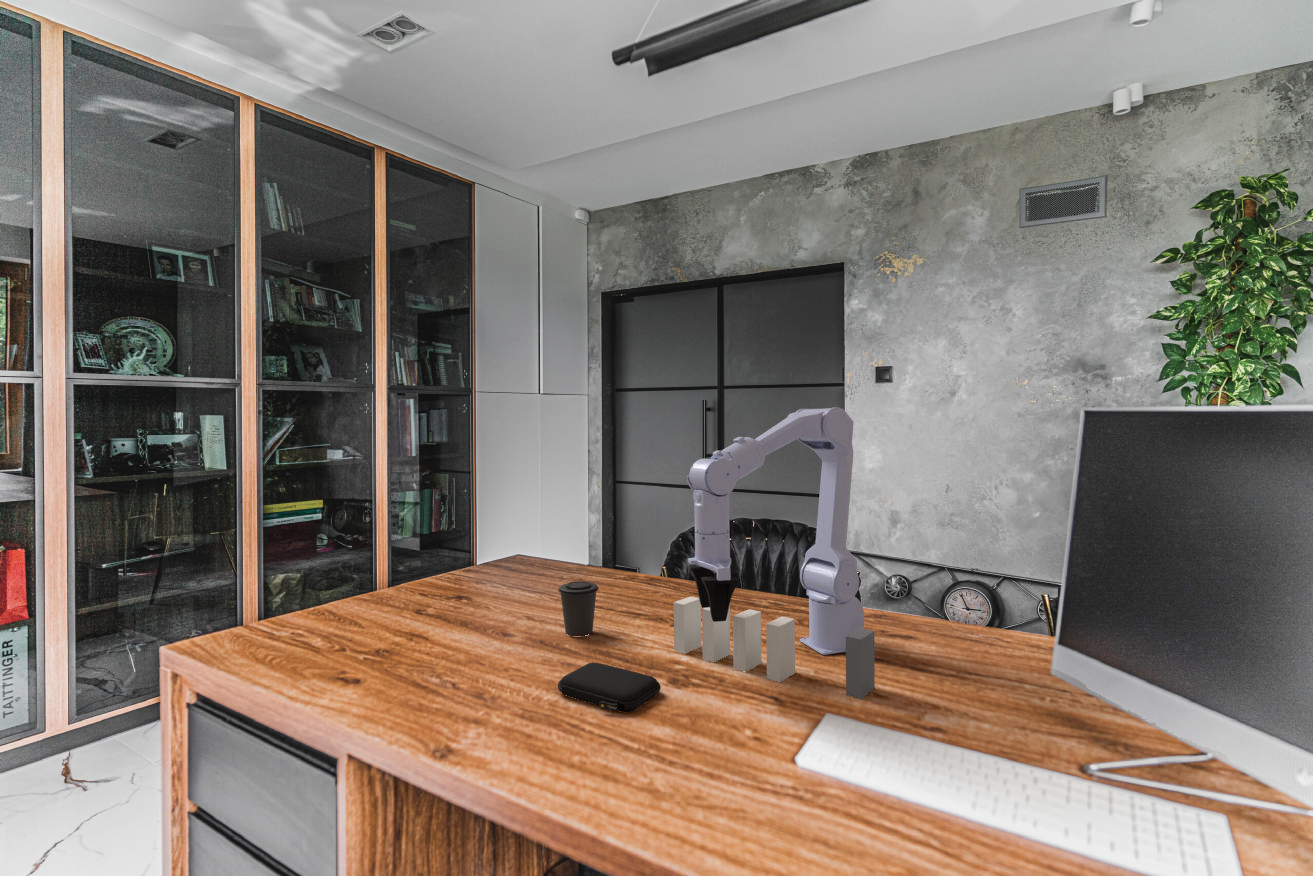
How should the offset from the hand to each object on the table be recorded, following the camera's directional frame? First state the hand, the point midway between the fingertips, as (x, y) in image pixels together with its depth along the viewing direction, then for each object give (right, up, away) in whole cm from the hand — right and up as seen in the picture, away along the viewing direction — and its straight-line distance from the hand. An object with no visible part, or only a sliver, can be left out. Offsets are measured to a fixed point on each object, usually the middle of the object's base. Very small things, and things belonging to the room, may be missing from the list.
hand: (713, 613), depth 104 cm
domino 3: (+6, -10, +4) cm, 12 cm away
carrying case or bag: (-17, -11, -7) cm, 21 cm away
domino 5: (+22, -10, -7) cm, 25 cm away
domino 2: (+1, -10, +8) cm, 13 cm away
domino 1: (-4, -10, +12) cm, 16 cm away
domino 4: (+11, -10, -1) cm, 15 cm away
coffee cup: (-25, -10, +22) cm, 35 cm away
